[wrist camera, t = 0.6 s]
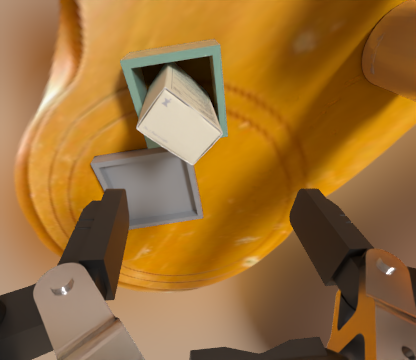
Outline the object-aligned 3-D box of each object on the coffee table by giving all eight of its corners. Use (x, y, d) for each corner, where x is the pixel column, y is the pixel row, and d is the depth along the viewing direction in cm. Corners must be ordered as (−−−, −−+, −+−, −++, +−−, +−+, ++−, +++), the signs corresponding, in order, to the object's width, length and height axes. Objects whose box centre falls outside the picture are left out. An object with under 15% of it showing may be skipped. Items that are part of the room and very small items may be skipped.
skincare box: (148, 86, 29) (130, 128, 19) (170, 55, 27) (162, 83, 17) (189, 118, 31) (191, 168, 22) (211, 92, 30) (224, 133, 20)
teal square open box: (214, 38, 26) (219, 44, 22) (222, 120, 32) (227, 136, 28) (129, 52, 26) (119, 60, 22) (152, 131, 32) (148, 148, 28)
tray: (189, 141, 33) (189, 148, 32) (202, 209, 41) (203, 218, 40) (94, 156, 33) (90, 163, 32) (126, 221, 42) (124, 230, 40)
